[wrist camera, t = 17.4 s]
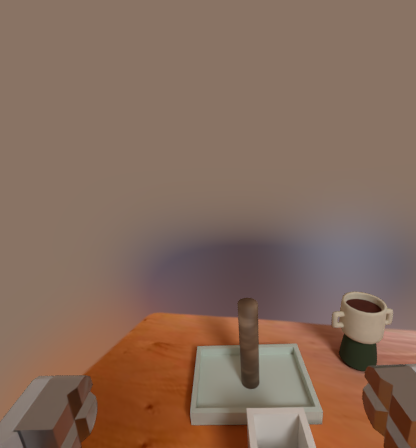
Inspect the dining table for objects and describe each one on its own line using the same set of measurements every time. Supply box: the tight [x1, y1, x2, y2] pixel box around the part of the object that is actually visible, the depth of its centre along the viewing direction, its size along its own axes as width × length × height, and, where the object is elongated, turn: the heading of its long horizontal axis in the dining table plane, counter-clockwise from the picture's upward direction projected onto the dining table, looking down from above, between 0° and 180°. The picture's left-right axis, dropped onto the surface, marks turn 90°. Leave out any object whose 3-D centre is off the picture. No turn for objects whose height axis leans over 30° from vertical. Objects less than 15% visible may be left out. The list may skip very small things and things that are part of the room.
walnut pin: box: [238, 298, 259, 389], centre depth 45 cm, size 3×3×16 cm
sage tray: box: [190, 344, 323, 425], centre depth 47 cm, size 20×14×2 cm
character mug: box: [332, 292, 393, 371], centre depth 49 cm, size 11×7×13 cm, turn 90°
